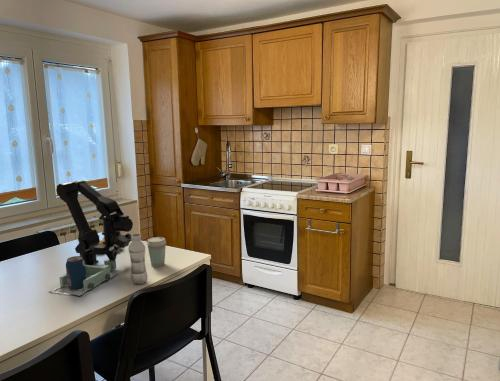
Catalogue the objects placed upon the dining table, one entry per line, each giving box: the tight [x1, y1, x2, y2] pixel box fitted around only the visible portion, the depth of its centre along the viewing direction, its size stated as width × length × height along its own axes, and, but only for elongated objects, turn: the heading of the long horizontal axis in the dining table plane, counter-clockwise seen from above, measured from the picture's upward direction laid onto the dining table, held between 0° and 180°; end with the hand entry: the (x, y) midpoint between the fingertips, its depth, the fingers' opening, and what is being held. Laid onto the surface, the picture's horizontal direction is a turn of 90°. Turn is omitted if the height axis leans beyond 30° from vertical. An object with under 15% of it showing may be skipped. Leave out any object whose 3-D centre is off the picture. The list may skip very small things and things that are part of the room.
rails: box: [49, 265, 128, 298], centre depth 162 cm, size 15×29×1 cm, turn 161°
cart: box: [59, 259, 117, 292], centre depth 163 cm, size 15×23×4 cm, turn 161°
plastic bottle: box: [128, 233, 148, 285], centre depth 157 cm, size 6×7×20 cm
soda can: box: [65, 255, 88, 291], centre depth 154 cm, size 7×7×12 cm
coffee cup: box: [146, 236, 167, 268], centre depth 177 cm, size 8×8×12 cm
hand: (113, 263), depth 175 cm, fingers closed
